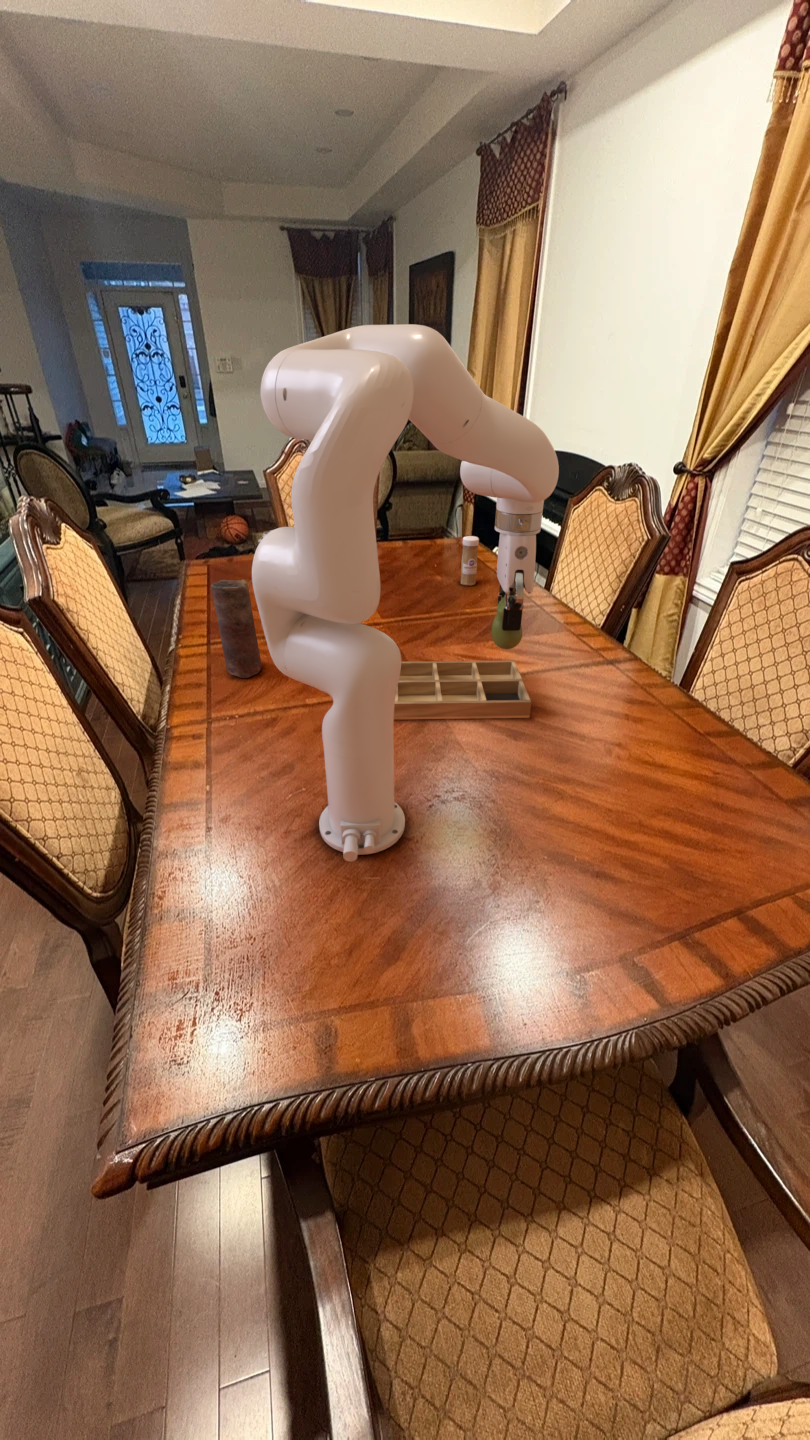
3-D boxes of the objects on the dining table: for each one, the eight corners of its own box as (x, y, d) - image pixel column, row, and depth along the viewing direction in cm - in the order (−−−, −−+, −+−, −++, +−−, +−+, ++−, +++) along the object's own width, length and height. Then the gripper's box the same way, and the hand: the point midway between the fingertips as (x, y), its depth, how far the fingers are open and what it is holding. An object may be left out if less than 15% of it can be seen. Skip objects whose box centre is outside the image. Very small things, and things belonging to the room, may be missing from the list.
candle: (219, 674, 130) (202, 583, 119) (241, 660, 136) (228, 573, 125) (246, 682, 127) (232, 590, 116) (269, 667, 133) (257, 578, 122)
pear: (507, 639, 115) (511, 588, 110) (527, 648, 111) (532, 596, 106) (485, 646, 112) (488, 595, 107) (504, 656, 109) (509, 603, 103)
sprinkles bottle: (465, 587, 176) (468, 540, 169) (457, 582, 179) (459, 536, 172) (478, 584, 178) (482, 538, 170) (470, 580, 181) (473, 534, 174)
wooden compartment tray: (529, 717, 115) (531, 701, 113) (394, 719, 115) (394, 703, 113) (512, 674, 130) (514, 660, 128) (393, 676, 129) (392, 661, 127)
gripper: (553, 534, 93) (539, 643, 103) (530, 508, 107) (519, 605, 117) (504, 535, 93) (494, 643, 102) (487, 508, 107) (480, 606, 117)
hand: (508, 622), depth 110 cm, fingers closed on pear, 5 cm apart
